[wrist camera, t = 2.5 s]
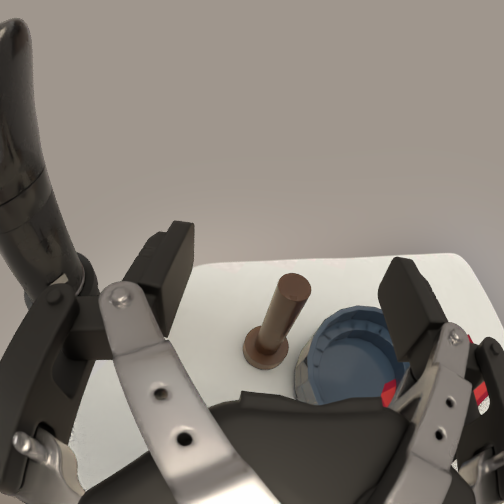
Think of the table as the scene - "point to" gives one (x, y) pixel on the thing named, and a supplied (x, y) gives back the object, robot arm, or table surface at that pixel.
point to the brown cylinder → (277, 323)
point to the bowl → (348, 358)
